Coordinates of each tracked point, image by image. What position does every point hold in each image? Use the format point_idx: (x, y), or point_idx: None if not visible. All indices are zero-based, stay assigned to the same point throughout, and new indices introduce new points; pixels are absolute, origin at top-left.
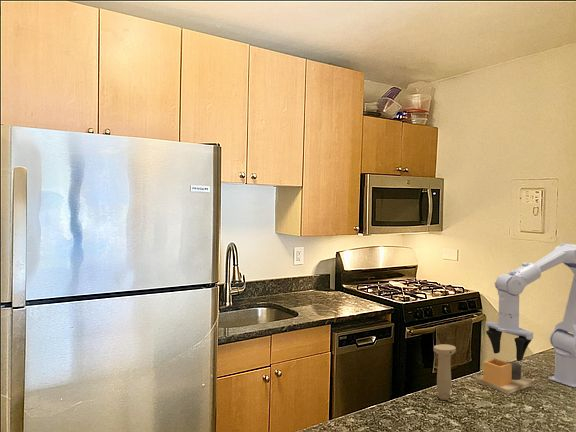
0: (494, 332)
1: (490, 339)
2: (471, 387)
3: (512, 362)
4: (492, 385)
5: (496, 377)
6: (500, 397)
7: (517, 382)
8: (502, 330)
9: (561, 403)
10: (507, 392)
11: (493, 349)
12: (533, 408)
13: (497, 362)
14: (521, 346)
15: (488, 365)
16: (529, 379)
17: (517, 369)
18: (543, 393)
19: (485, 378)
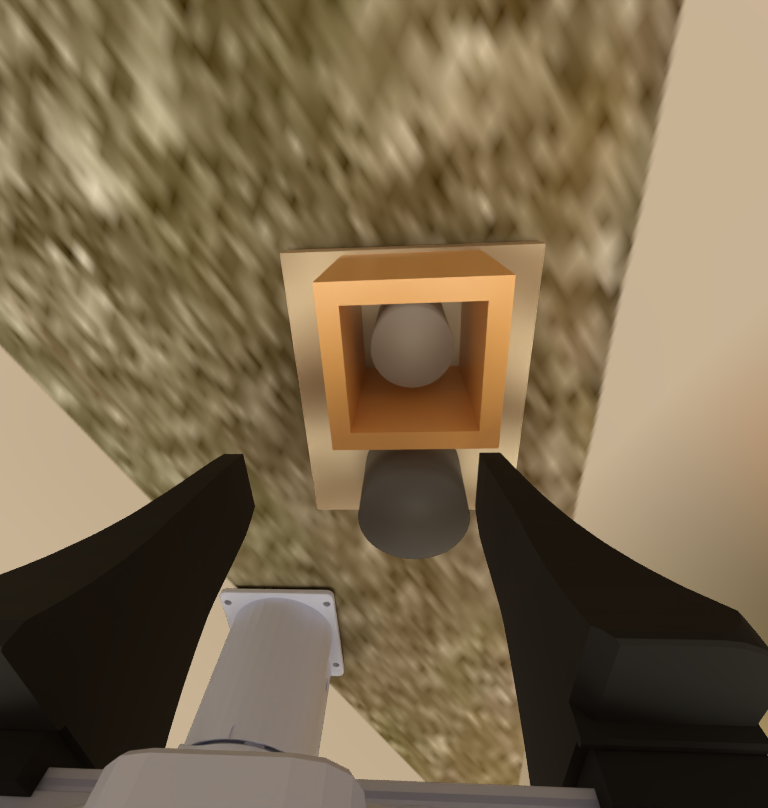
0: (585, 703)
1: (593, 543)
2: (493, 98)
3: (436, 547)
4: (400, 248)
5: (367, 262)
6: (269, 145)
7: None
8: (113, 805)
9: (102, 402)
10: (288, 250)
11: (509, 467)
12: (72, 194)
13: (455, 420)
14: (40, 563)
15: (451, 271)
16: (340, 504)
17: (363, 492)
18: (224, 438)
19: (464, 254)
